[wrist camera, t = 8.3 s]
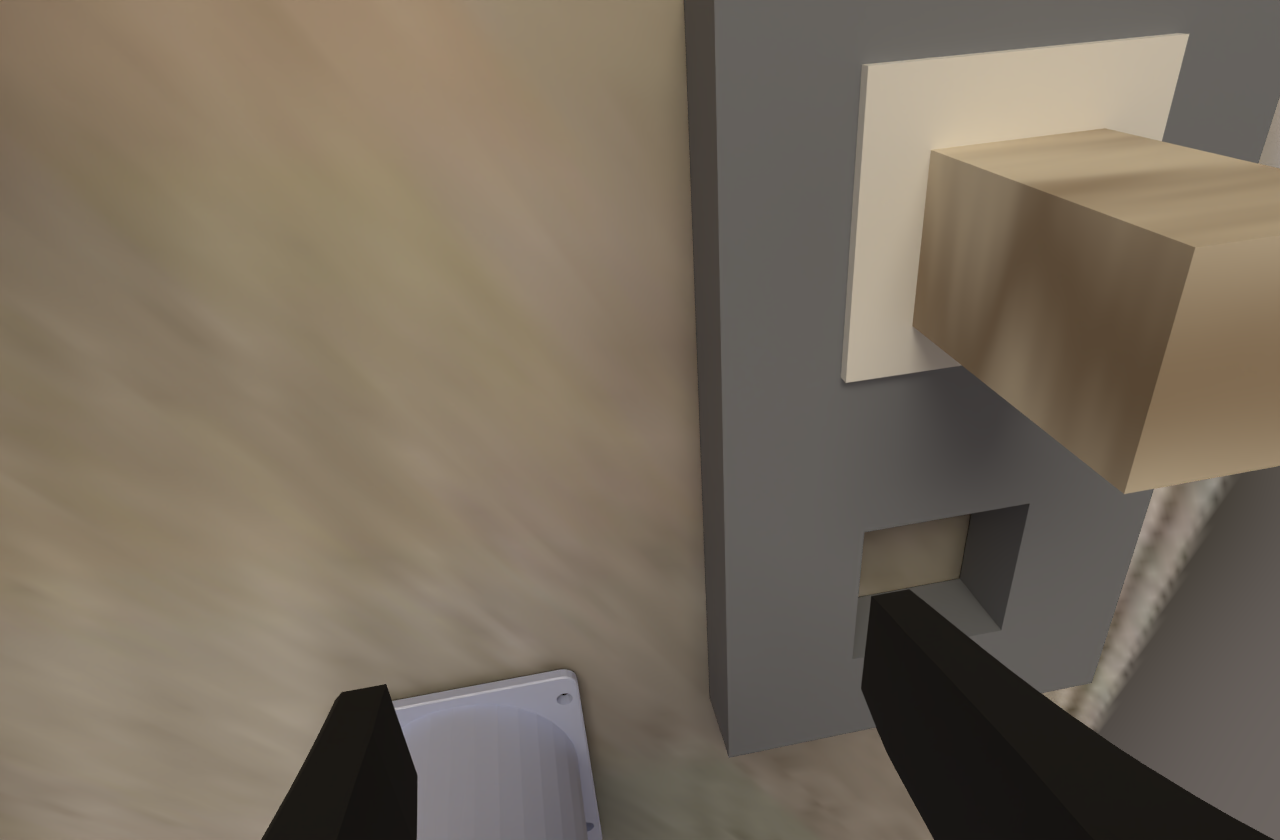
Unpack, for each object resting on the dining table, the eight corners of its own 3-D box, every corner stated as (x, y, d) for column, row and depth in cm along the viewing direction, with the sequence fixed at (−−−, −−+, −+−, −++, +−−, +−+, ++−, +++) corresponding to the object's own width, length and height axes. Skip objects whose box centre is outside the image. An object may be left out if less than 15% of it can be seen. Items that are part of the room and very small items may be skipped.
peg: (1068, 302, 19) (1346, 453, 13) (912, 326, 18) (1123, 494, 12) (1105, 128, 17) (1457, 209, 11) (930, 149, 16) (1195, 247, 10)
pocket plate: (1046, 631, 29) (1097, 689, 27) (709, 697, 27) (731, 765, 25) (1229, -57, 18) (1344, -63, 16) (683, -10, 16) (718, -9, 14)
